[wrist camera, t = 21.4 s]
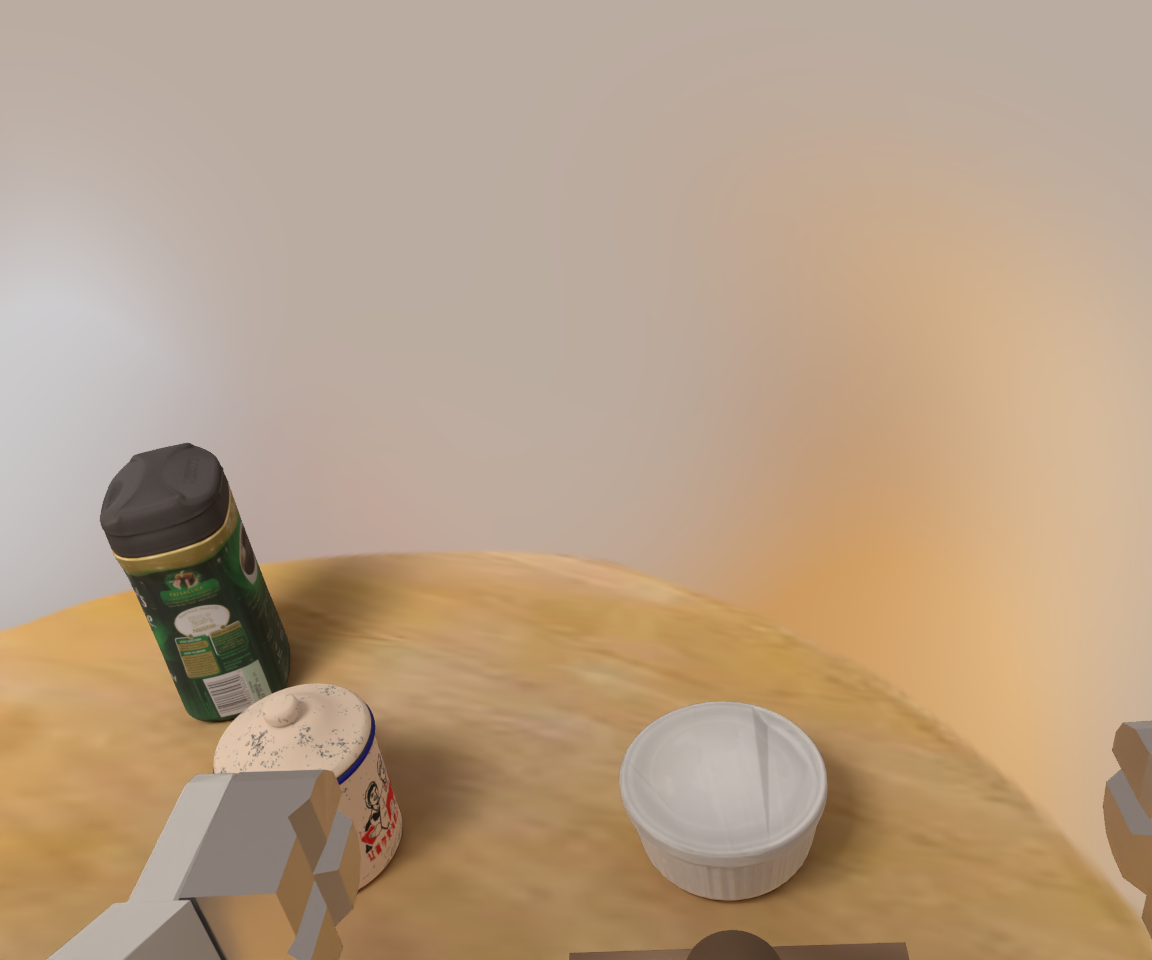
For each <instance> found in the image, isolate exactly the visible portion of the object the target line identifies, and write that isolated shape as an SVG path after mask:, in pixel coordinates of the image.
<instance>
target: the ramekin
mask: <svg viewBox="0 0 1152 960" xmlns="http://www.w3.org/2000/svg"><path fill="white" fill-rule="evenodd" d="M619 784H620V791H621V797H622V801H623V804H624V807H625V810H626V812H627V815H628V817H629V819H630V820H631V822H632V823H633V825H634V826H635V828H636V830H637V832H638V835H639V837H640V840H641V842H642V845H643V847H644V849H645V851H646V853H647V856H648V858H649V859H650V860H651V862H652V864H653V865H654V867H655V868H657V869H658V871H659V872H660V873H661V874H662V875H663V876H664V877H666V878H667V879H668V880H669V881H670V882H671V883H673V884H675V885H676V886H677V887H679V888H681V889H683V890H685V891H687V892H689V893H692V894H694V895H697V896H700V897H705V898H708V899H715V900H723V901H726V900H742V899H749V898H753V897H757V896H760V895H762V894H765V893H768V892H770V891H772V890H774V889H776V888H778V887H779V886H781V885H782V884H783V883H785V882H787V881H788V880H789V878H790V877H791V876H793V875H794V874H795V873H796V872H797V870H798V869H799V868H800V867H801V866H802V865H803V863H804V860H805V859H806V858H807V856H808V853H809V850H810V848H811V846H812V842H813V838H814V835H815V831H816V827H817V824H818V822H819V820H820V819H821V816H822V814H823V811H824V808H825V805H826V800H827V790H828V781H827V773H826V767H825V764H824V761H823V758H822V756H821V754H820V752H819V750H818V748H817V746H816V745H815V744H814V742H813V741H812V740H811V738H810V737H809V736H808V735H807V734H806V733H805V732H804V731H803V730H802V729H800V728H799V727H798V726H797V725H795V724H794V723H793V722H791V721H790V720H788V719H787V718H785V717H783V716H782V715H780V714H778V713H775V712H773V711H771V710H768V709H765V708H762V707H759V706H756V705H751V704H746V703H739V702H729V701H715V702H705V703H699V704H694V705H690V706H686V707H683V708H680V709H677V710H674V711H672V712H670V713H668V714H666V715H664V716H662V717H660V718H658V719H657V720H655V721H654V722H652V723H651V724H650V725H648V726H647V727H646V728H645V729H644V730H643V731H641V732H640V734H639V735H638V736H637V737H636V738H635V739H634V740H633V742H632V743H631V744H630V746H629V747H628V748H627V751H626V753H625V756H624V758H623V761H622V764H621V769H620V777H619Z"/></svg>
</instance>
